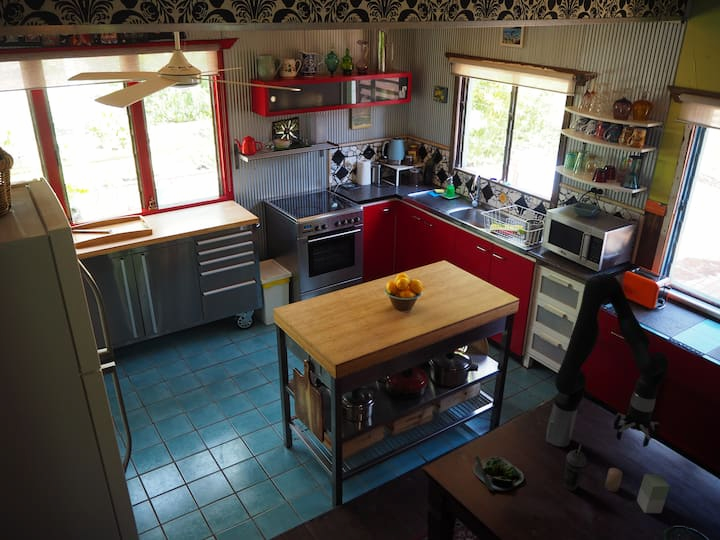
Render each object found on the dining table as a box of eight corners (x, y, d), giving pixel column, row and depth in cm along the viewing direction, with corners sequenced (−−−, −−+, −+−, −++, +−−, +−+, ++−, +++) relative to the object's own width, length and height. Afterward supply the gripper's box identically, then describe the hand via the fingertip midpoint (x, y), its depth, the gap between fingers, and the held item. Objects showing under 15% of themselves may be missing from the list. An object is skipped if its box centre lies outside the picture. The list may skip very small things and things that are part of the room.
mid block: (649, 499, 210) (653, 486, 207) (640, 487, 215) (644, 474, 213) (665, 499, 210) (669, 486, 208) (656, 487, 216) (660, 474, 213)
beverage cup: (580, 482, 224) (591, 438, 217) (580, 495, 218) (591, 451, 210) (560, 477, 226) (570, 433, 219) (559, 490, 220) (570, 445, 212)
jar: (605, 490, 221) (609, 474, 219) (604, 481, 226) (608, 466, 223) (619, 493, 220) (623, 478, 218) (617, 484, 225) (621, 469, 222)
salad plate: (458, 466, 229) (460, 457, 227) (492, 452, 238) (494, 442, 237) (495, 499, 214) (497, 489, 212) (529, 482, 224) (531, 472, 222)
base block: (644, 513, 212) (648, 499, 210) (636, 500, 217) (640, 487, 215) (661, 513, 212) (665, 499, 210) (652, 500, 218) (656, 487, 216)
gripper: (620, 405, 210) (610, 442, 217) (665, 415, 206) (653, 454, 212) (620, 394, 217) (610, 431, 223) (663, 404, 213) (651, 441, 219)
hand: (631, 442), depth 218 cm, fingers open, 8 cm apart
